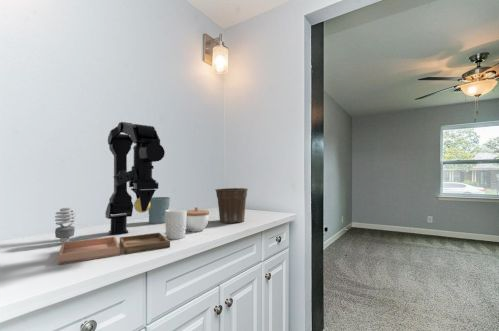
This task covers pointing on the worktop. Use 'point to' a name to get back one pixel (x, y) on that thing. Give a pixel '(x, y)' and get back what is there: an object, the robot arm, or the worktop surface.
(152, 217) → the teal cup
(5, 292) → the worktop surface
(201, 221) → the lidded jar
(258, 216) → the worktop surface
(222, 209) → the plant pot
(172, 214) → the white cup
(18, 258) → the worktop surface
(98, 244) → the dish
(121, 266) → the worktop surface
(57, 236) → the light bulb
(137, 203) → the ball
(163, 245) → the tray
